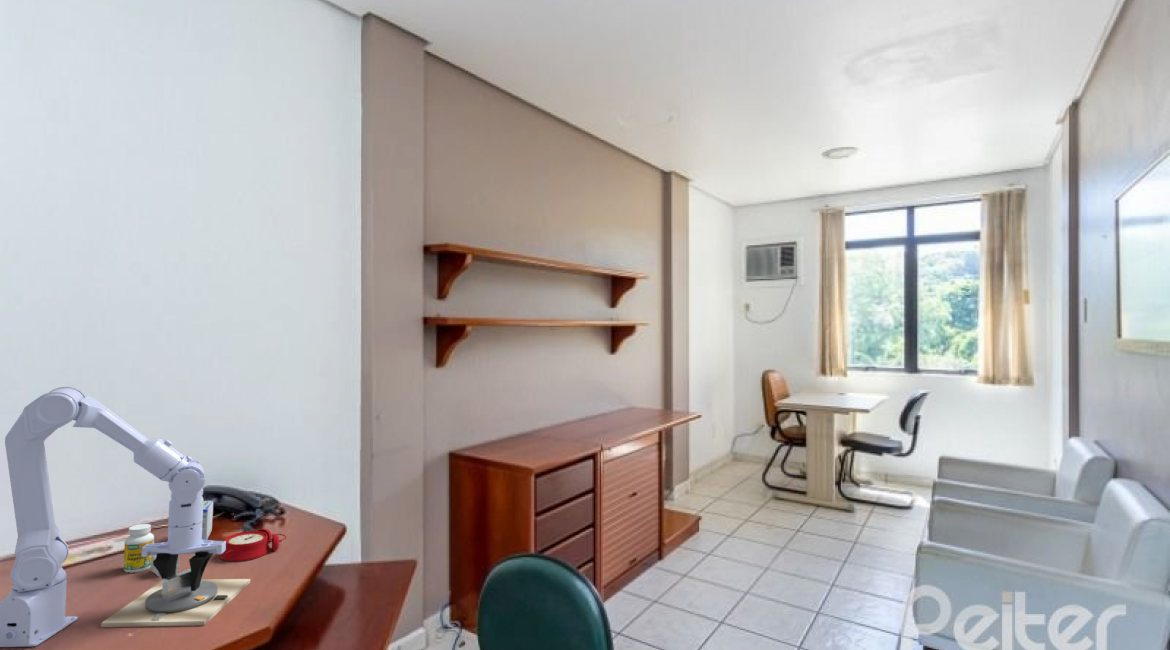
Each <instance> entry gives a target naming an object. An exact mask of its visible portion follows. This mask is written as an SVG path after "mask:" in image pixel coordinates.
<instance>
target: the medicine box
mask: <svg viewBox="0 0 1170 650" xmlns="http://www.w3.org/2000/svg"><path fill="white" fill-rule="evenodd" d="M213 515H214V500H203V520H202V540H209V537H210V535H211V532H212V530H213Z"/></svg>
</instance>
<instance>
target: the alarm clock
mask: <svg viewBox="0 0 1170 650" xmlns="http://www.w3.org/2000/svg"><path fill="white" fill-rule="evenodd" d="M279 536H283V537H284V538H282V539H280V538H279ZM286 539H287V536H286V535H285V534H283V533H272V531H271V530H270V529H268V528H261V529H259V530H258V531H257V530H253V531H252V530H251V531H250V530H249V531H244V532H243V531H241V532H238V533H234V534H232V535H229V536H228V537H226V538H225V540H224V541H226V550H225V551H224V552H223V553H222V554H220V561H223V560H224V561H228V562H242V561H245V562H246V561H249V560H250V561H251V560H255V559H258V558H261V557H263V556H265V555H266V554H268V553H269V552H270V550H271V549H272V548H273V549H272V552H277V550H278V549H279V547H280V543H282V541H284V540H286ZM270 543H271V547H270V545H269V544H270Z"/></svg>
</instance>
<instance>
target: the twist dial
mask: <svg viewBox="0 0 1170 650" xmlns="http://www.w3.org/2000/svg"><path fill="white" fill-rule="evenodd" d="M203 576H204V574H203V575H202V578H201V582H200V587H199V588H198V589H197V590H196V591H191V567H189V568H187V569H184V570H182V571H179V572H176V574H173V575H171V576H168V577H166V578H163V586H162V589H160V590H158V591H156V592H154V593H152V594H151V595H150V596H148V597H147V599H146V601H145V608H146V609H147V610H149V611H151V612H157V613H170V612H177V611H183V610H187V609H191V608H194V607H197V606H200V605H202V604H204V603H206V602H208V601H210V600H211V599H213V598H214V597H215V596H216V594H217V592H218V587H217V585H216V584H215V583H212V582H208V581H203V579H204V577H203Z"/></svg>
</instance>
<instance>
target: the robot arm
mask: <svg viewBox="0 0 1170 650" xmlns="http://www.w3.org/2000/svg"><path fill="white" fill-rule="evenodd" d="M72 421H75V422H74V424H73V425H72V427H73V428H89V429H91V428H92V429H95V430H97V431H99V432H101V433H102V434H104V435H105V436H107V437H109V438H110V439H112V440H113V441H114V442H116V443H118V444H119V445H121V446H123V447H125V448H126V449H128V450H129V451H131V452H132V453H133V462H134V463H135V464H137V465H138V466H140V467H141V468H143V469H144V470H146V471H147V472H149V473H150V474H151V475H152V476H154V477H156V478H157V479H159V480H160V481H162V482H167V483H168V488H169V490H170V492H171V493H170V494H171V495H170V497H171V498H170V501H169V503H168V524H167V526H168V528H167V541H163V542H154V543H153V544H147V545H145V546H144V547H142V557H148V556H149V555H156V559H155V560H154V561H153V565H154V566H155V567H156V569H157V570H158V572H159V573H160V575H161V577H160V578H161V579H162V580H163V578H166V577H168V576H171V575H173V574H176V573H177V572H176V565H177V559H178V556H179V555H193V556H192V557H191V558H190V559H188V563H189V566H190V567H189V568H191V591H196V590H197V589H198V588H199V587H200V582H201V578H202V575H203V576H204V573H205V569H206V568H207V565H208V564H209V562H210V560H211V558H212V557H213V554H216V555H221V554H222V553H223V552H224V551H225V550H226V541H225V540H224V541H223V540H212V539H211V540H210V539H207V540H202V520H203V501H204V497H203V495H204V485H205V483H206V479H205V470H204V467H203V466H202V465H201V464H200V462H199V461H198V460H194V459H193V457H191V456H190V455H187V456H186V455H184V454H183V453H181V452H180V451H179V450H177V449H176V448H174V447H173V446H172V445H173V442H172V441H171V440H169V439H166V440H164V439H161V438H159V437H156V438H148V437H146V436H145V435H144V434H142V433H141V432H139V430H137V429H136V428H134V427H133V426H131V425H130V424H129V423H128V422H126V421H125V420H124V419H123V418H121V417H120V416H119V415H118V414H117V413H115V412H114V411H112V410H111V409H109V408H108V407H107V406H105V405H104V404H103V403H101V402H100V401H99V400H97V399H96V398H94V397H92V396H90V395H87V396H86V394H85V393H84V392H82V390H80V389H78V388H75V387H74V386H73V387H72V386H61V387H60V386H59V387H57V388H54V389H52V390H51V391H48V392H46V393H44V394H41V395H40V396H38V397H37V398H36V399H33V401H31V402H30V403H29V404H27V405H26V406H25V407H23V409H22V411H21V413H20V415H19V416H18V418H17V419H16V421H15V423H14V424H12V427H11V428H10V430H9V431H8V433H7V434H6V435H5V439H4V445H5V451H6V453H5V454H6V460H7V467H8V474H9V475H8V476H9V480H10V482H9V483H10V489H11V496H12V502H13V510H14V517H15V524H16V532H17V539H16V544H15V550H14V556H15V560H14V561H15V562H14V564H13V566H12V568H11V570H10V573H9V574H10V575H9V579H10V580H11V583H12V584H11V585H12V586H11V590H10V592H9V593H8V594H7V596H6V597H5V598H4V599H2V600H1V601H0V648H15V647H17V648H18V647H19V648H20V647H23V648H24V647H37V646H38V645H40V644H42V643H43V642H45V641H46V640H48V639H49V638H51V637H52V636H54V635H55V634H57V633H58V632H60V631H62V630H63V629H65V628H66V627H68V626H69V625H71V624H72V623H74V622H75V621H77V620H78V616H66V607H67V606H66V604H67V603H66V602H67V579H68V578H67V577H68V573H67V572H66V570H64V568H63V567H62V565H63V564H64V563H65V560H67V558H68V556H69V554H70V553H69V551H70V549H69V546H68V543H66V542H65V540H64V539H63V537H62V536H61V533H60V529H59V527H58V526H57V524H56V522H55V514H54V507H53V498H52V490H51V484H50V483H51V482H50V478H49V470H48V464H47V463H48V461H47V454H46V448H45V446H46V445H45V441H46V440H47V439H48V438H49V437H50V436H51V435H52V434H54V432H55V431H57V430H58V429H59V428H63V427H65V425H67V424H69V423H71V422H72ZM162 580H161V581H162Z"/></svg>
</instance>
